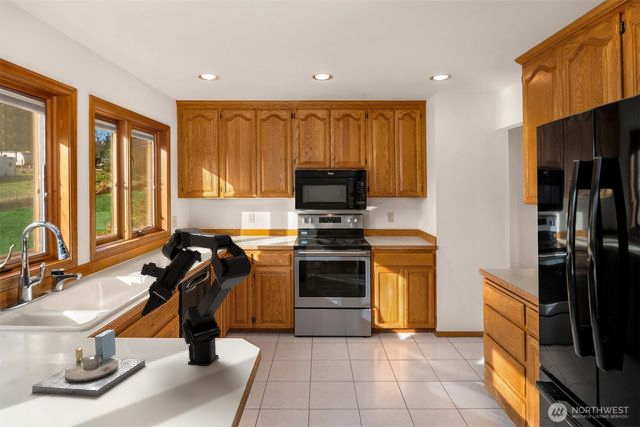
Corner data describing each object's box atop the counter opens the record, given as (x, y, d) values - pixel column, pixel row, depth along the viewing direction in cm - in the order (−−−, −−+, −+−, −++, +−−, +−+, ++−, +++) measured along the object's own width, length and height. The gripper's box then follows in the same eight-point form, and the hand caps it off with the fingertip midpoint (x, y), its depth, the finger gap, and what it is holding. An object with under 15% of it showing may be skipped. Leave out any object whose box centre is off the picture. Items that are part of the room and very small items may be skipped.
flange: (98, 381, 97) (97, 349, 97) (53, 380, 98) (51, 348, 98) (132, 358, 111) (131, 329, 111) (92, 357, 113) (91, 329, 112)
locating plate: (145, 365, 111) (144, 343, 110) (97, 396, 93) (95, 371, 93) (88, 362, 114) (87, 341, 114) (32, 392, 96) (31, 367, 96)
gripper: (158, 251, 124) (124, 294, 120) (153, 251, 107) (113, 301, 103) (188, 272, 127) (155, 314, 122) (187, 275, 109) (150, 324, 105)
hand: (144, 313), depth 113 cm, fingers open, 9 cm apart
